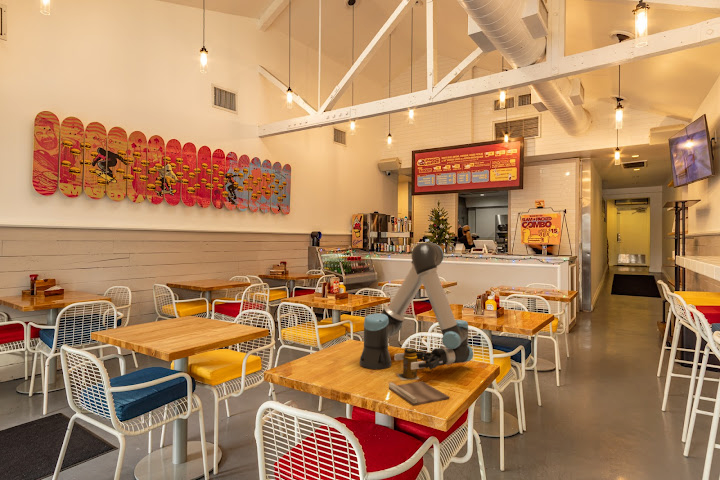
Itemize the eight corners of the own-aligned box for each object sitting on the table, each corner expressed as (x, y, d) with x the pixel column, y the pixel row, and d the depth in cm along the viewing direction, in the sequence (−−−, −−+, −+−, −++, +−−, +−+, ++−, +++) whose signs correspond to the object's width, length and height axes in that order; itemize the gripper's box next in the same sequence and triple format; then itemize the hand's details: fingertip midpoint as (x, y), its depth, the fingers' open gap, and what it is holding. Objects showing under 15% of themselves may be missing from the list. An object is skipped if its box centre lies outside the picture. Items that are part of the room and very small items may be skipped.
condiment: (420, 379, 171) (420, 351, 171) (401, 380, 169) (401, 352, 169) (414, 373, 178) (414, 346, 178) (396, 374, 176) (396, 347, 176)
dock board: (422, 383, 166) (422, 377, 166) (449, 398, 149) (449, 392, 149) (388, 388, 159) (389, 382, 159) (413, 405, 142) (413, 399, 142)
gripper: (460, 373, 170) (418, 379, 161) (426, 357, 192) (388, 362, 183) (460, 355, 170) (419, 361, 161) (426, 341, 192) (388, 346, 183)
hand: (402, 361), depth 172 cm, fingers open, 13 cm apart
